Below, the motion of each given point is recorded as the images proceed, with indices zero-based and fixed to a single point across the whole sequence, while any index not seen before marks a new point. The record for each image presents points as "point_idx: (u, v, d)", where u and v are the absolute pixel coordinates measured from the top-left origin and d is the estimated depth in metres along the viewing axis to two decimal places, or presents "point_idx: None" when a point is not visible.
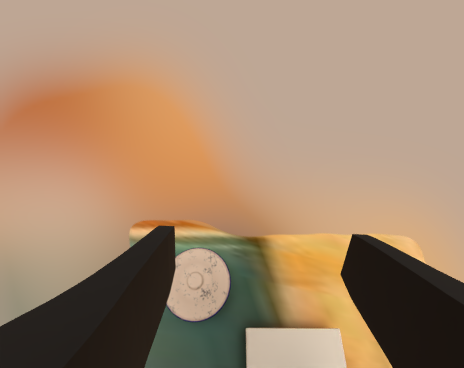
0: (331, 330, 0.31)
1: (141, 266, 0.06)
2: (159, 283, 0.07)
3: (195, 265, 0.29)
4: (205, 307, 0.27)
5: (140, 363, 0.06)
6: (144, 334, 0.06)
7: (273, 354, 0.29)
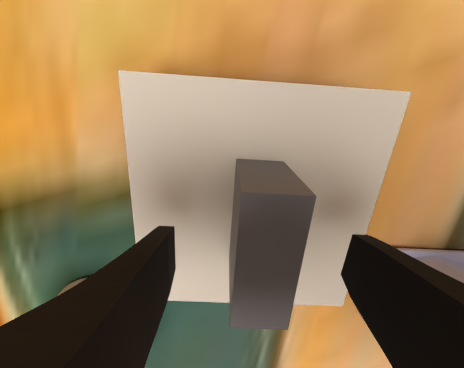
0: (125, 100, 0.10)
1: (141, 266, 0.06)
2: (159, 283, 0.07)
3: None
4: None
5: (140, 363, 0.06)
6: (144, 334, 0.06)
7: (186, 255, 0.13)
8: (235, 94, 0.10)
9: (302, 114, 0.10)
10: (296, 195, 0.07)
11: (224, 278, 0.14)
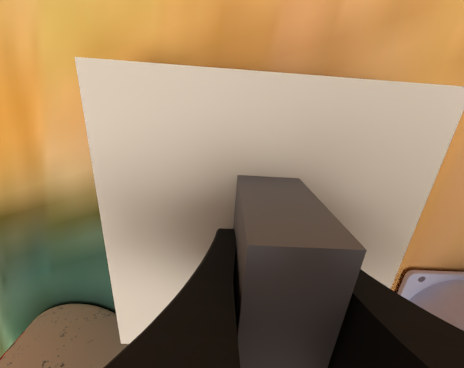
0: (86, 98, 0.07)
1: (233, 269, 0.06)
2: None
3: None
4: None
5: None
6: None
7: (175, 293, 0.10)
8: (236, 90, 0.07)
9: (325, 117, 0.08)
10: (335, 249, 0.04)
11: None
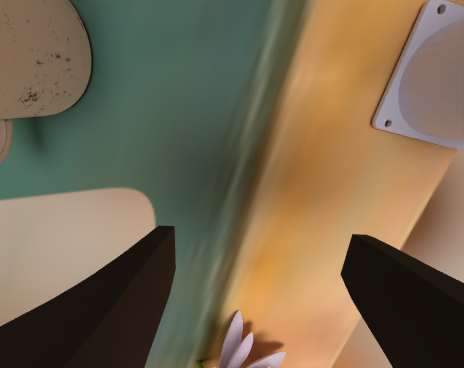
0: None
1: (141, 266, 0.06)
2: (159, 283, 0.07)
3: None
4: None
5: (140, 364, 0.06)
6: (144, 334, 0.06)
7: None
8: None
9: None
10: None
11: None
